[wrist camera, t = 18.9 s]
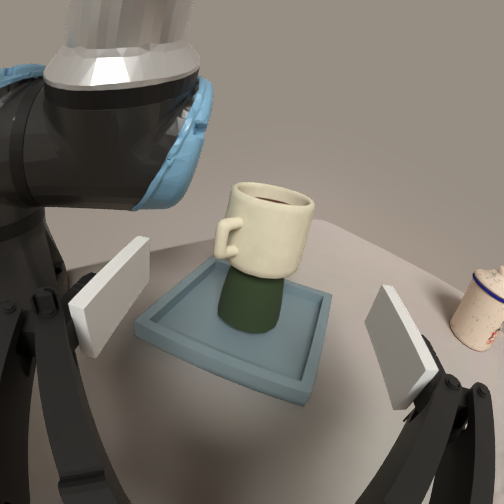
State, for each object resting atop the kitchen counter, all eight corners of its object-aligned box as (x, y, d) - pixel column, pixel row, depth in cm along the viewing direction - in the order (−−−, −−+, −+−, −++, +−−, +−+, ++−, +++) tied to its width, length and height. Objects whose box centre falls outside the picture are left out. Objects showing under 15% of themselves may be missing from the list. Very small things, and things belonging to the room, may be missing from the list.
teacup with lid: (488, 362, 26) (531, 291, 21) (443, 333, 31) (480, 260, 27) (491, 328, 34) (521, 270, 29) (454, 305, 39) (481, 246, 34)
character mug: (259, 286, 34) (282, 181, 29) (304, 317, 30) (341, 203, 25) (182, 315, 27) (194, 183, 21) (229, 361, 23) (259, 212, 17)
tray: (135, 335, 24) (133, 320, 23) (211, 267, 38) (212, 255, 37) (303, 406, 20) (311, 394, 19) (327, 306, 34) (332, 294, 33)
